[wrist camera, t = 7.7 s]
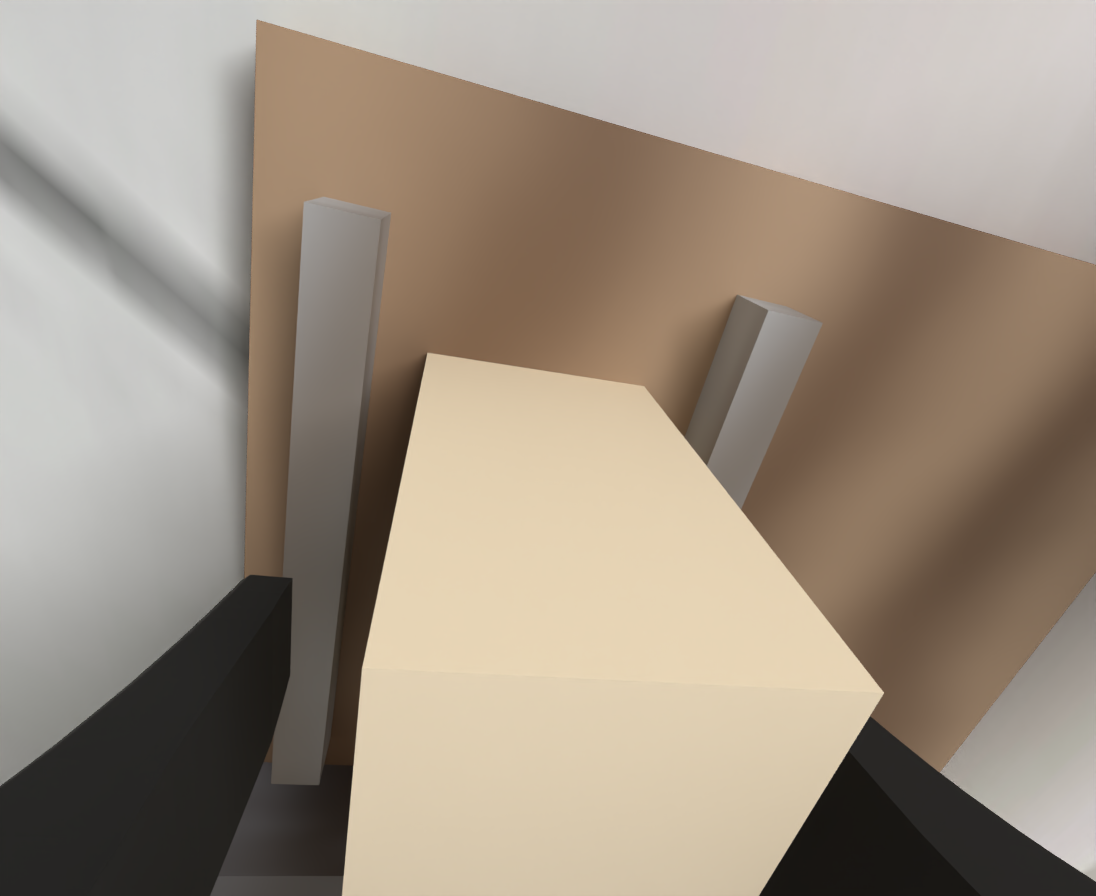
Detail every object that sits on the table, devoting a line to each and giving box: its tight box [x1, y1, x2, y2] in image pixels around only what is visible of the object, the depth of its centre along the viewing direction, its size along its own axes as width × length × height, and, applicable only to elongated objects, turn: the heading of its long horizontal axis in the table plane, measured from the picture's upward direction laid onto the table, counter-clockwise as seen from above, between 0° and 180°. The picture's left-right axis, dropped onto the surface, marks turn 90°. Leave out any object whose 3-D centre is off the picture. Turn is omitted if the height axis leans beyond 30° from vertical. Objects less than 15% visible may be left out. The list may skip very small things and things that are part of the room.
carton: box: [342, 353, 884, 896], centre depth 9 cm, size 8×4×7 cm, turn 168°
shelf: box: [210, 20, 1096, 896], centre depth 12 cm, size 20×16×4 cm
